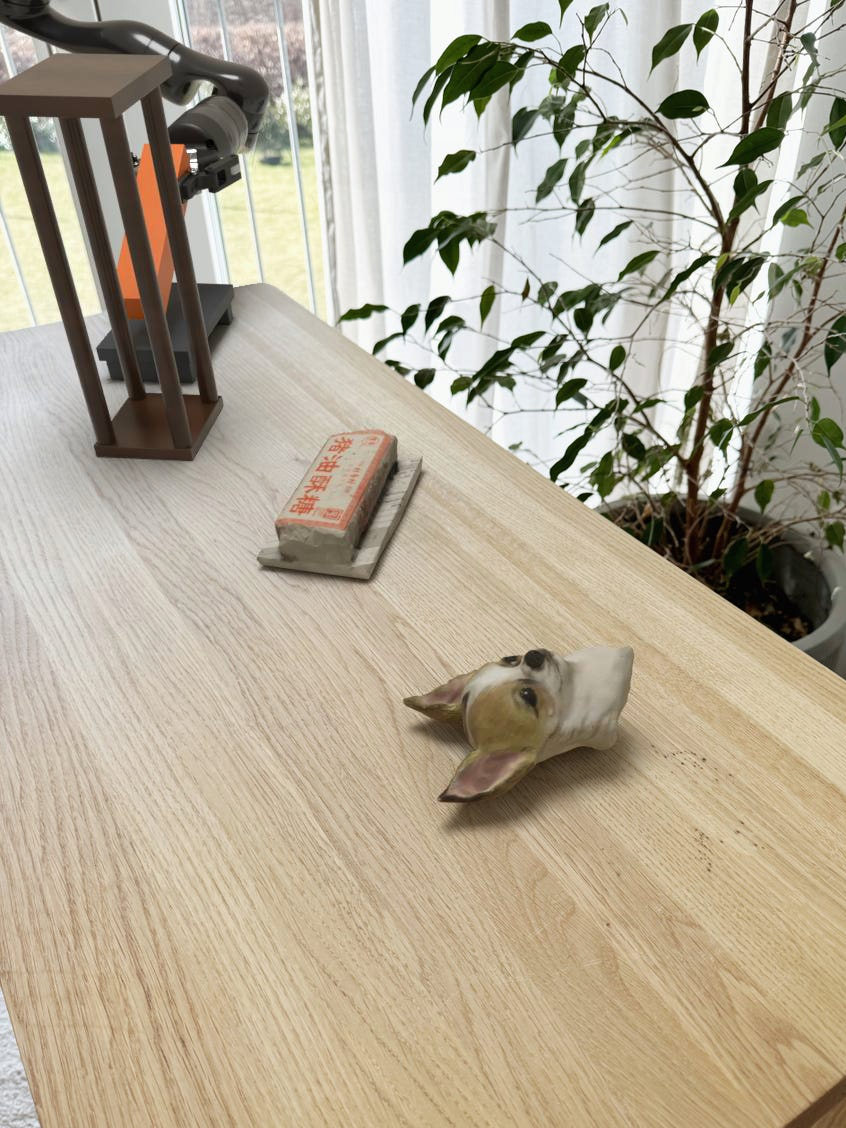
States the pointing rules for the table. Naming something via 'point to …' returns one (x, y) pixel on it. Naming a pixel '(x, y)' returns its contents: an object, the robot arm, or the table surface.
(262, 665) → the table surface
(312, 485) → the packaged product
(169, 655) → the table surface
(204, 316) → the low shelf
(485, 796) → the ceramic sculpture
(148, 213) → the orange block
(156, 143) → the tall stand
